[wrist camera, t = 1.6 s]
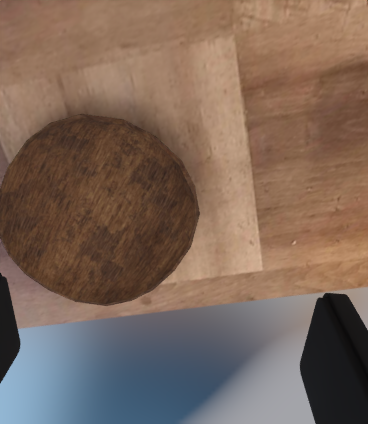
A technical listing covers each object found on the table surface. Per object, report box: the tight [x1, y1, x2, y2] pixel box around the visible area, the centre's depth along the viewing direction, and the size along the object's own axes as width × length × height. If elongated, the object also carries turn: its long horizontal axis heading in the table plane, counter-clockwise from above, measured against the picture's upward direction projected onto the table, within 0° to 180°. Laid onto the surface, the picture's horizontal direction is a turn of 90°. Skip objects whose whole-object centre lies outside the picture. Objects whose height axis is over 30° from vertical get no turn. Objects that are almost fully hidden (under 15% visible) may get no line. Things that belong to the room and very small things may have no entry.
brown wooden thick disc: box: [0, 114, 200, 306], centre depth 38 cm, size 20×22×5 cm
